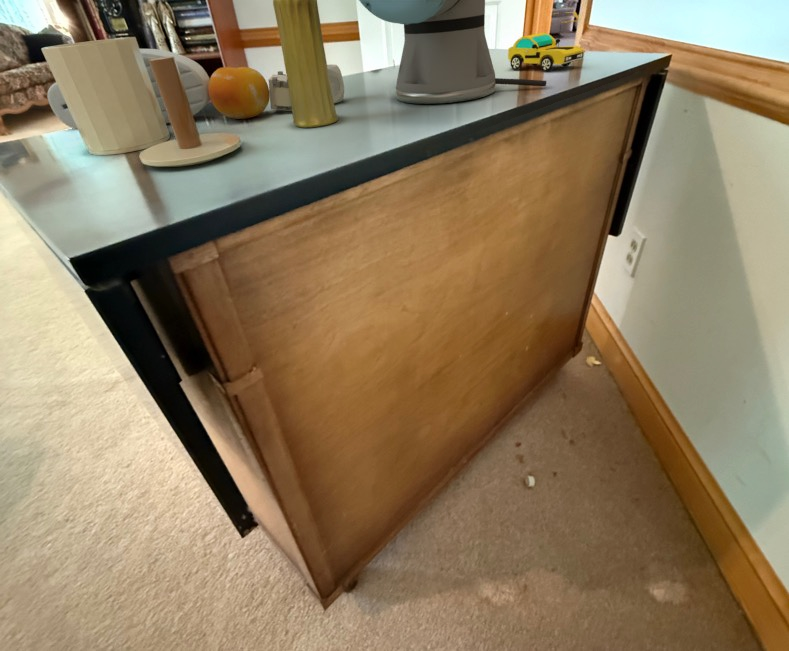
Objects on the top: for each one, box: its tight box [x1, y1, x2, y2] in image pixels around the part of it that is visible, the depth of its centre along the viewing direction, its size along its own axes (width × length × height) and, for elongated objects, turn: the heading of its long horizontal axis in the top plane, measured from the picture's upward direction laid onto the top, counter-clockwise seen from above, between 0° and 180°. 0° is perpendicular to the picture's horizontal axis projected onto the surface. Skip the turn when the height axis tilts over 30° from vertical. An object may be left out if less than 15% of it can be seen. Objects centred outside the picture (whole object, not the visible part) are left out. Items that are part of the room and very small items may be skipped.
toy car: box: [507, 11, 585, 73], centre depth 82 cm, size 12×8×8 cm, turn 40°
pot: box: [40, 36, 171, 156], centre depth 60 cm, size 10×10×12 cm
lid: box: [138, 56, 242, 168], centre depth 52 cm, size 11×11×10 cm
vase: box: [272, 0, 339, 129], centre depth 60 cm, size 6×6×14 cm
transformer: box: [268, 70, 292, 112], centre depth 78 cm, size 6×20×5 cm
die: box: [327, 64, 345, 104], centre depth 74 cm, size 5×5×5 cm
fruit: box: [208, 66, 270, 120], centre depth 70 cm, size 8×8×8 cm
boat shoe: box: [46, 48, 211, 130], centre depth 75 cm, size 10×29×10 cm
